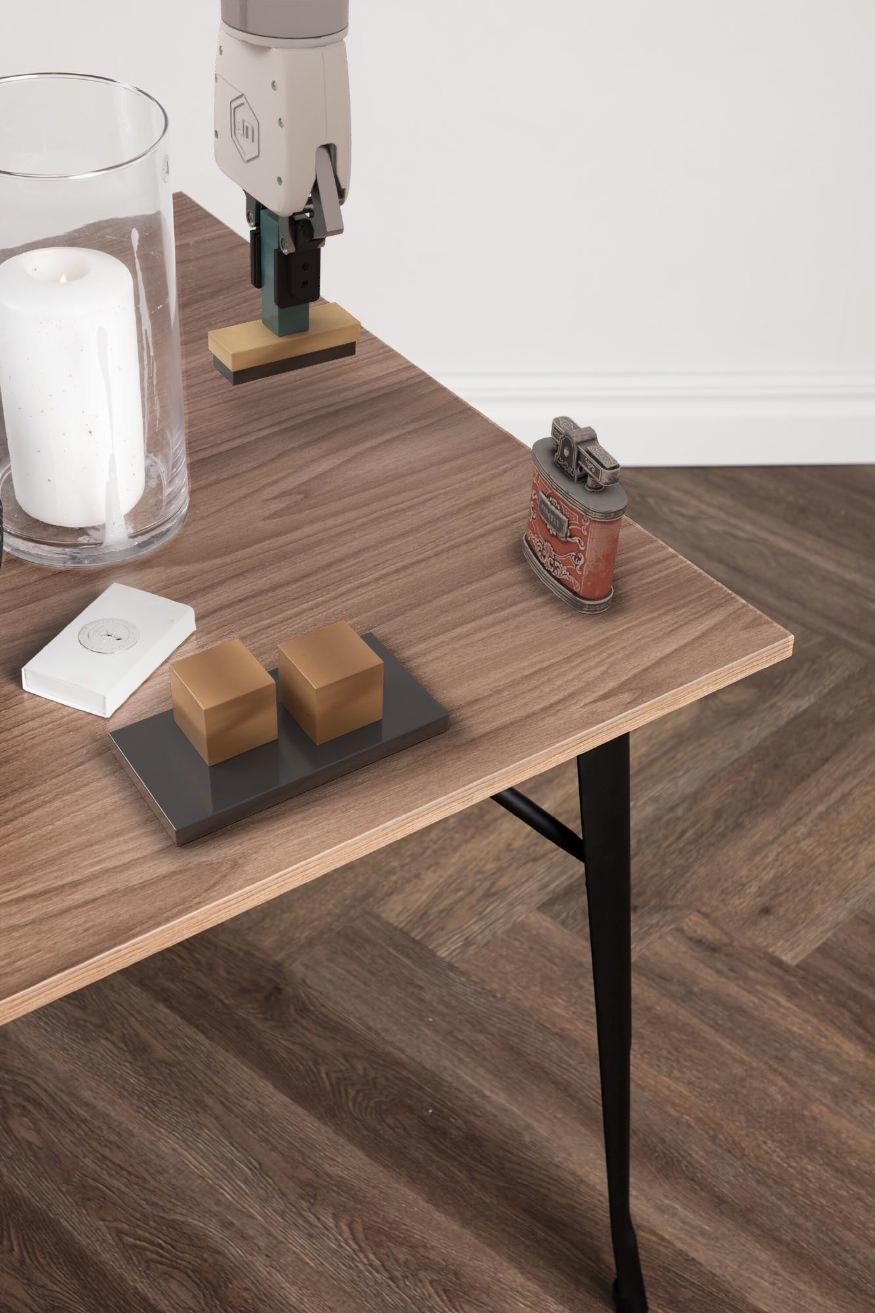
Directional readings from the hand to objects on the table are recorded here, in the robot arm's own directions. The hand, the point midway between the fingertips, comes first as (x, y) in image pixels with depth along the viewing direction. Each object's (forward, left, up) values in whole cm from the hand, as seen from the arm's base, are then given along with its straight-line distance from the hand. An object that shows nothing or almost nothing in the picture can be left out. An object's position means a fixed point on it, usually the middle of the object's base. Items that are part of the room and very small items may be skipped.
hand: (285, 291), depth 95 cm
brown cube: (+13, -31, -7) cm, 34 cm away
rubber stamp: (0, 0, -5) cm, 5 cm away
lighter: (+23, -14, -9) cm, 28 cm away
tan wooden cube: (+8, -34, -7) cm, 35 cm away
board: (+11, -32, -9) cm, 35 cm away
